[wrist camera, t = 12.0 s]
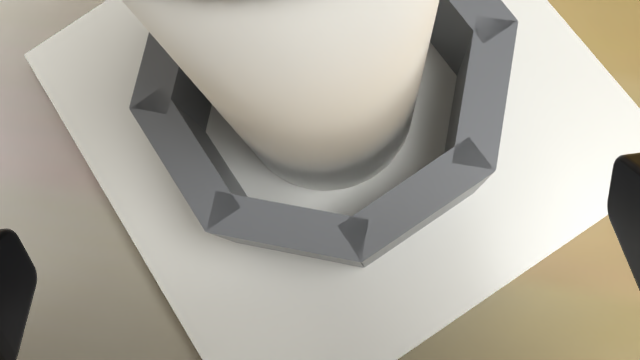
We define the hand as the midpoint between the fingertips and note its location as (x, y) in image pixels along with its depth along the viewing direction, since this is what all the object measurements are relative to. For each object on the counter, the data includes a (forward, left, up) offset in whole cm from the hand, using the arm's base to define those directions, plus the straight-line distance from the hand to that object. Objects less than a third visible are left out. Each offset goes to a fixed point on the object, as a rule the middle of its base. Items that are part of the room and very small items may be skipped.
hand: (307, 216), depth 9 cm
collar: (+2, +4, -9) cm, 10 cm away
